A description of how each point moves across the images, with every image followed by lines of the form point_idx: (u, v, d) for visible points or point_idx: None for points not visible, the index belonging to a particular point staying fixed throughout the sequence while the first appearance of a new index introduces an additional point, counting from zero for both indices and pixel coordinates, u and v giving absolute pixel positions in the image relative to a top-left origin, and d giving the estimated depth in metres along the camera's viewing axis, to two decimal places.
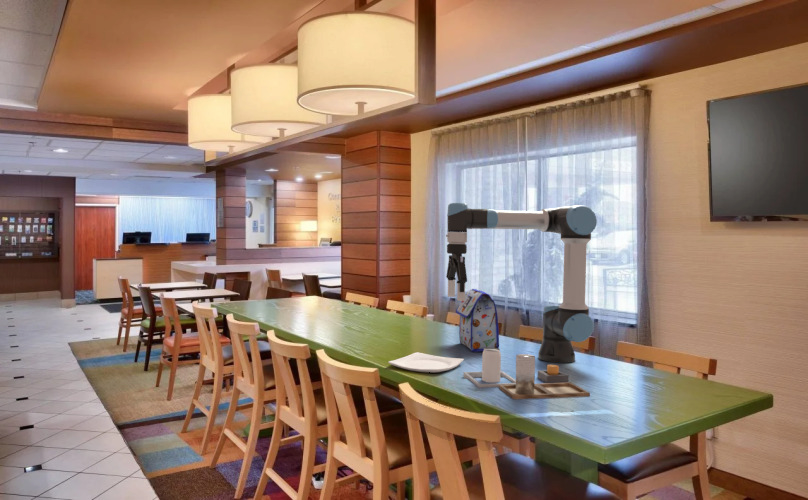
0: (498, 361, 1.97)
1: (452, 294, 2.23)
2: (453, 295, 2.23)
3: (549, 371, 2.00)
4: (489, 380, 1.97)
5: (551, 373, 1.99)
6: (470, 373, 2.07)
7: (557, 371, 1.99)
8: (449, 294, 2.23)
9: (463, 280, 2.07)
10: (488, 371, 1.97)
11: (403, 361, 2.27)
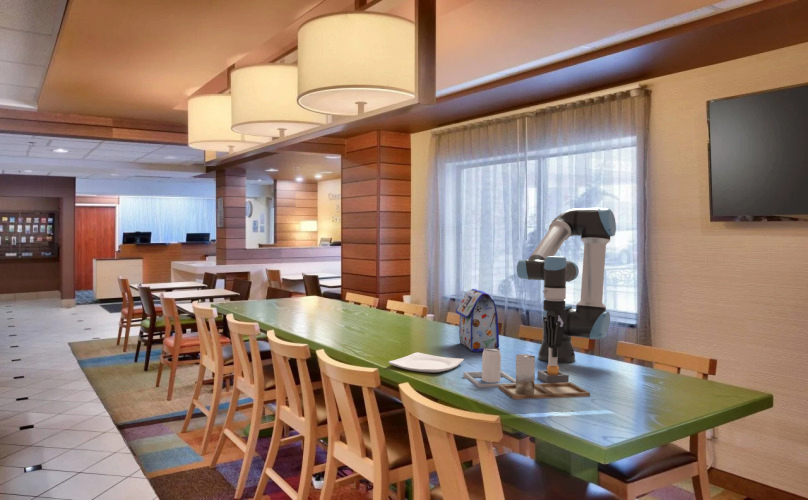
0: (498, 361, 1.97)
1: None
2: None
3: (549, 371, 2.00)
4: (489, 380, 1.97)
5: (551, 373, 1.99)
6: (470, 373, 2.07)
7: (557, 371, 1.99)
8: None
9: (557, 345, 1.97)
10: (488, 371, 1.97)
11: (403, 361, 2.27)
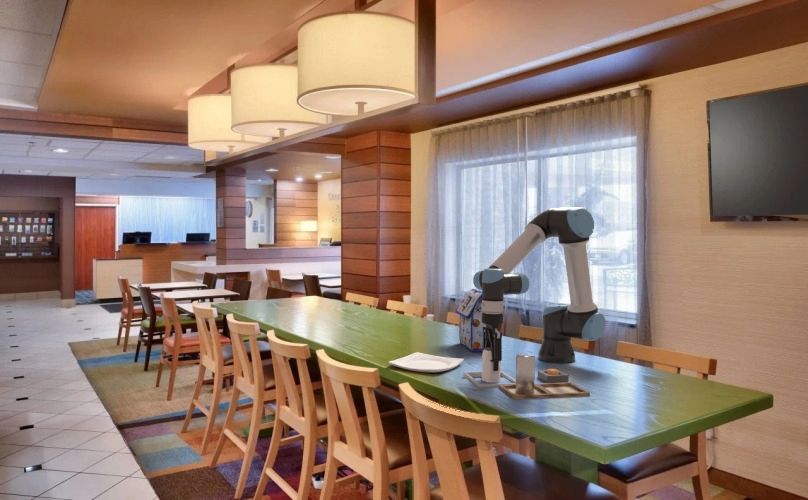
0: None
1: None
2: None
3: None
4: (489, 380, 1.97)
5: None
6: (470, 373, 2.07)
7: None
8: None
9: (497, 359, 1.93)
10: (488, 371, 1.97)
11: (403, 361, 2.27)
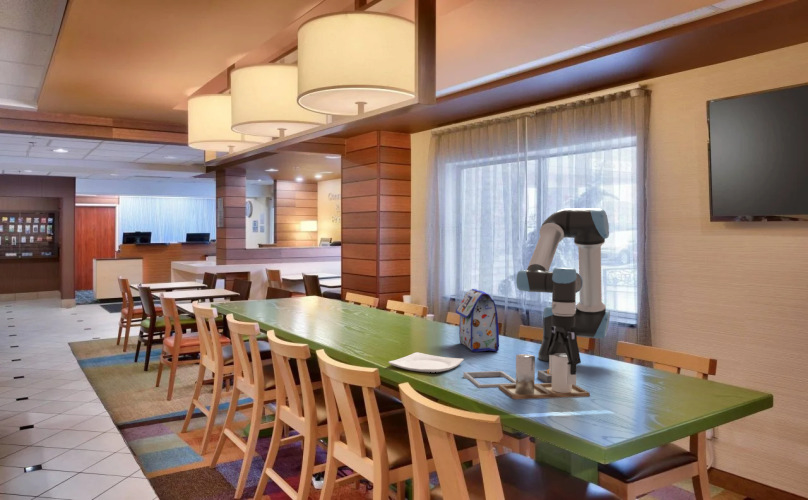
0: None
1: None
2: None
3: None
4: (560, 388, 1.84)
5: None
6: (470, 373, 2.07)
7: None
8: (551, 371, 1.92)
9: (576, 362, 1.77)
10: (559, 379, 1.84)
11: (403, 361, 2.27)
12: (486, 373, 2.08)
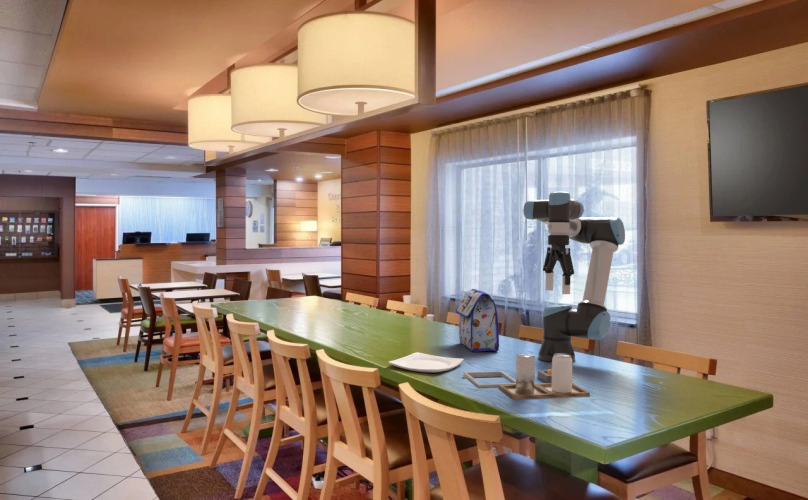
0: (570, 368, 1.84)
1: (550, 287, 2.13)
2: (551, 289, 2.13)
3: None
4: (560, 388, 1.84)
5: None
6: (470, 373, 2.07)
7: None
8: (547, 288, 2.13)
9: (570, 272, 1.97)
10: (559, 379, 1.84)
11: (403, 361, 2.27)
12: (486, 373, 2.08)
